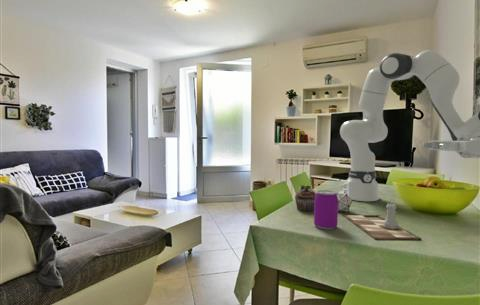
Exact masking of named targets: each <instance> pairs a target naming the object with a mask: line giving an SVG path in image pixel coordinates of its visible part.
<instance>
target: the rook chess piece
mask: <svg viewBox="0 0 480 305" xmlns="http://www.w3.org/2000/svg"><path fill="white" fill-rule="evenodd" d="M386 204H387V205H386V206H385V207H386V209H387V210H386V217H385V221H384V225H383V226H384V227H385V228H387V229H397V228H398V226H399V224H398V221H397V220H396V213H397V212H396V209H397V205H396V203H391V202H387V203H386ZM397 225H398V226H397Z"/></svg>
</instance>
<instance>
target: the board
mask: <svg viewBox="0 0 480 305" xmlns="http://www.w3.org/2000/svg"><path fill="white" fill-rule="evenodd" d="M342 216H343V218H345V219H346V220H348V222H349V221H350V223H352V224H353V225H355V226H356V227H358V228H359V229H360V230H361V231H363V232H364V233H365V234H367V235H368V236H370V237H371V238H372V239H374V240H376V241H381V240H382V241H383V240H385V241H387V240H388V241H422V237H420V236H418V235H416V234H414V233H412V231H409V230H407V229H405V228H403V227H402V226H400V225H399V224H398V225H397V226H398V228H397V229H387V228H385V227H384V226H383V225H384V221H385V219H386V217H383V216H381V215H380V214H343V215H342ZM368 218H378V219H368Z"/></svg>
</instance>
